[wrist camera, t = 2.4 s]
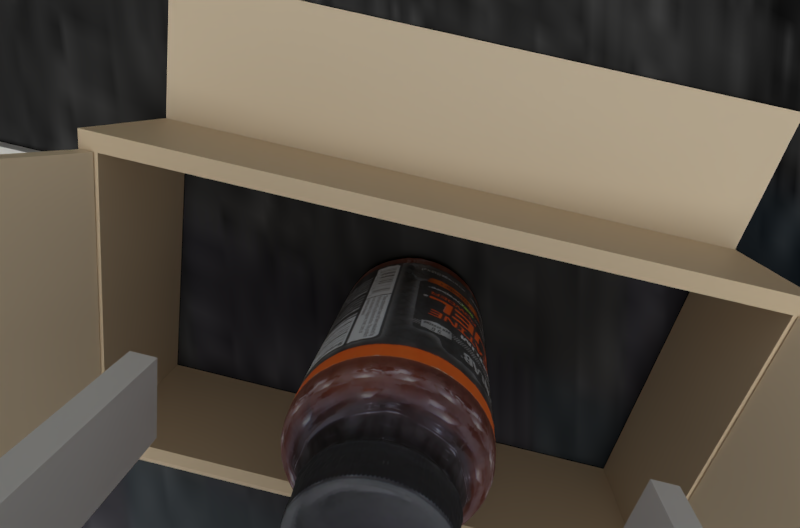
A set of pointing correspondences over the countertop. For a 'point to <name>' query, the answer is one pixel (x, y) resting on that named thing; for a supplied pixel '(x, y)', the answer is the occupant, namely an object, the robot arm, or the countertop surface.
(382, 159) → the kraft carton
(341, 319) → the supplement bottle
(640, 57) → the countertop surface
